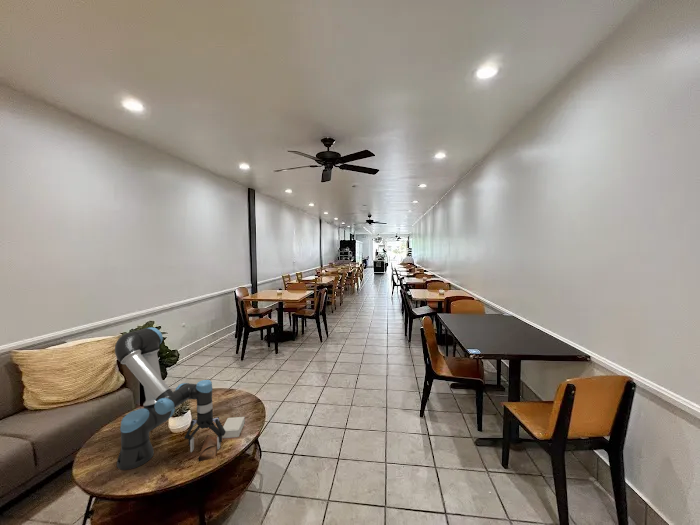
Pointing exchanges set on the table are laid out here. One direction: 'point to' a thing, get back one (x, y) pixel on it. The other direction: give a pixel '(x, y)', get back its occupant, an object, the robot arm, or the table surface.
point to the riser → (233, 427)
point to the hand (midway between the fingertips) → (205, 449)
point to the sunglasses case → (208, 449)
